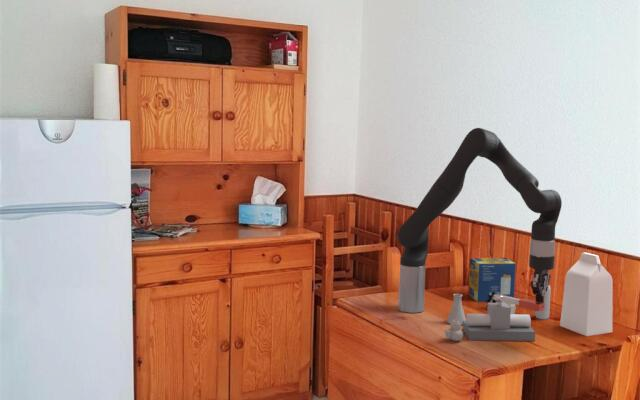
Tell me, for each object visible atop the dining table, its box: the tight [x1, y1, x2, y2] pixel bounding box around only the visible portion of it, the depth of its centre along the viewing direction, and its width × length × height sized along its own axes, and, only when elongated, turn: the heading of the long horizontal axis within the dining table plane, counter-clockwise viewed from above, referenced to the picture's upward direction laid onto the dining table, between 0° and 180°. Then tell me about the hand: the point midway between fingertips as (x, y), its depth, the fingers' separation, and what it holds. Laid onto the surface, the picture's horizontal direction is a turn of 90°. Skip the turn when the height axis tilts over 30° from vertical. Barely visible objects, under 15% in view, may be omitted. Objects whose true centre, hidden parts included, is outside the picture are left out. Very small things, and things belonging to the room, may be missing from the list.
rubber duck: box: [444, 317, 464, 342], centre depth 209 cm, size 5×7×8 cm
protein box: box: [468, 257, 517, 303], centre depth 260 cm, size 10×15×16 cm
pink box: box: [494, 294, 545, 311], centre depth 209 cm, size 16×3×2 cm, turn 43°
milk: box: [559, 252, 614, 337], centre depth 221 cm, size 12×12×26 cm
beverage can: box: [534, 284, 552, 321], centre depth 234 cm, size 5×5×12 cm
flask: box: [446, 293, 467, 326], centre depth 228 cm, size 7×7×10 cm
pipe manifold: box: [462, 301, 536, 342], centre depth 215 cm, size 21×11×11 cm, turn 89°
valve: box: [484, 292, 516, 314], centre depth 240 cm, size 7×7×12 cm
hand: (539, 306), depth 207 cm, fingers closed
